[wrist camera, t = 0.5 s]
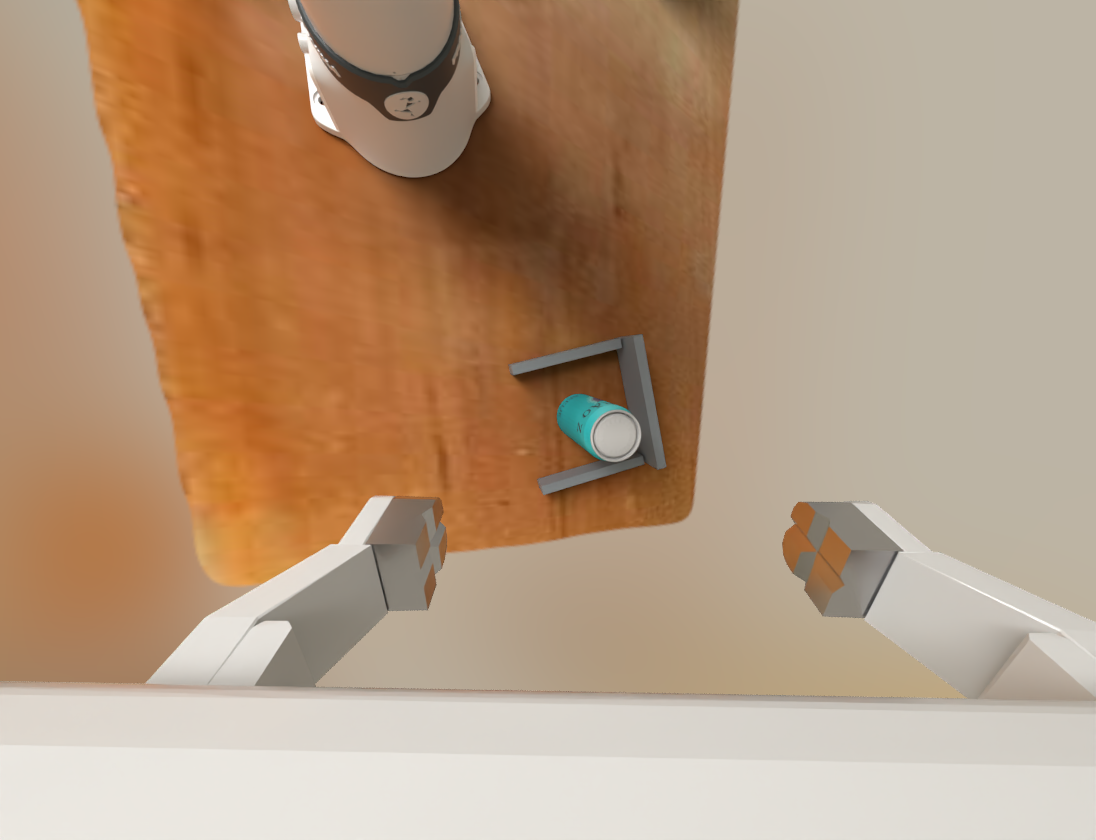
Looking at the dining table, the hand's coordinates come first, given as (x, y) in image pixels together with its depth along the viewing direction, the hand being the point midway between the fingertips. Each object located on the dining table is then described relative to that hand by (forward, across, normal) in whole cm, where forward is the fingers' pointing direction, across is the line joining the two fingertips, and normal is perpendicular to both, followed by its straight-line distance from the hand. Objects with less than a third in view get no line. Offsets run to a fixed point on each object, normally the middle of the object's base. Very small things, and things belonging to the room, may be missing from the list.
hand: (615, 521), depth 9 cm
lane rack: (+41, -1, +16) cm, 44 cm away
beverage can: (+41, -1, +16) cm, 44 cm away
